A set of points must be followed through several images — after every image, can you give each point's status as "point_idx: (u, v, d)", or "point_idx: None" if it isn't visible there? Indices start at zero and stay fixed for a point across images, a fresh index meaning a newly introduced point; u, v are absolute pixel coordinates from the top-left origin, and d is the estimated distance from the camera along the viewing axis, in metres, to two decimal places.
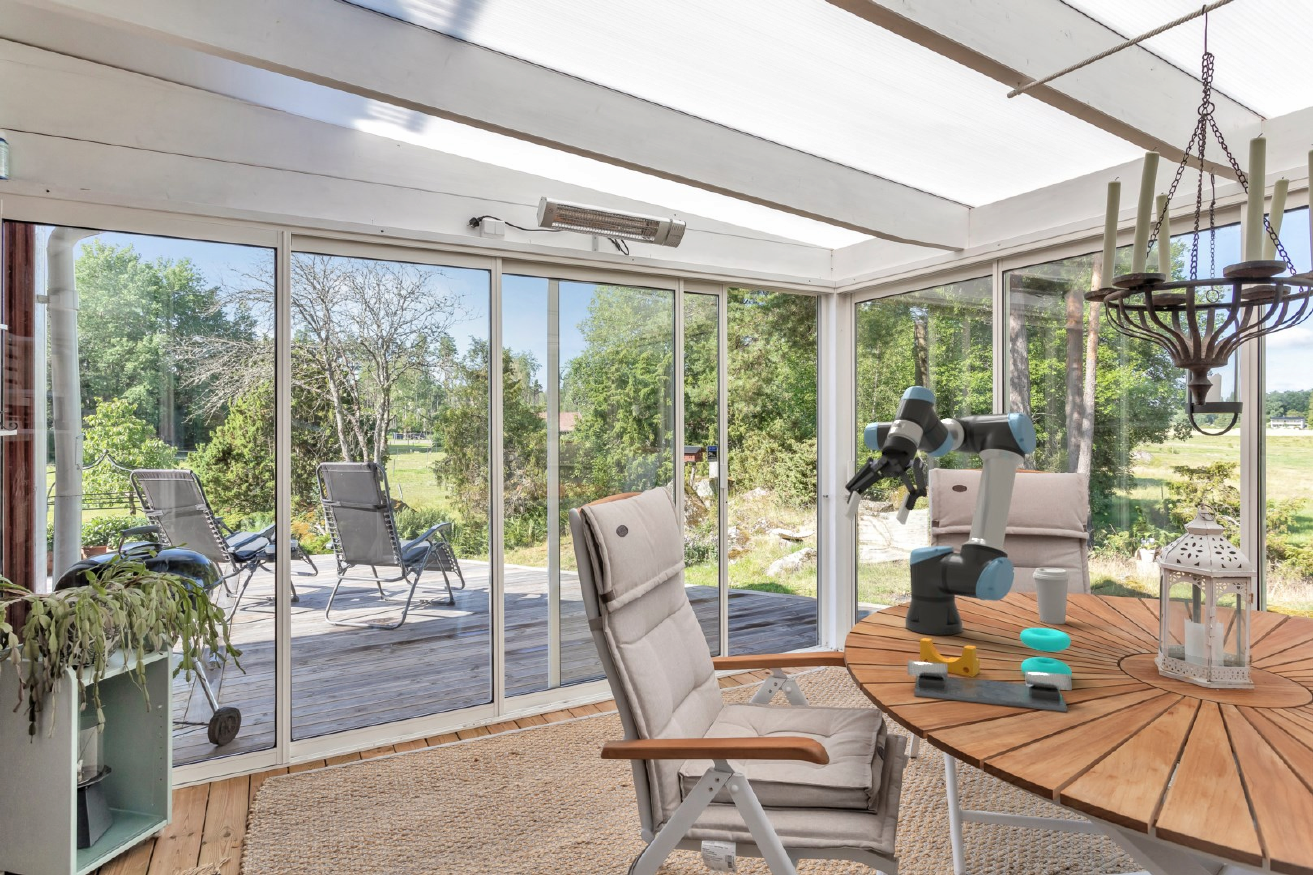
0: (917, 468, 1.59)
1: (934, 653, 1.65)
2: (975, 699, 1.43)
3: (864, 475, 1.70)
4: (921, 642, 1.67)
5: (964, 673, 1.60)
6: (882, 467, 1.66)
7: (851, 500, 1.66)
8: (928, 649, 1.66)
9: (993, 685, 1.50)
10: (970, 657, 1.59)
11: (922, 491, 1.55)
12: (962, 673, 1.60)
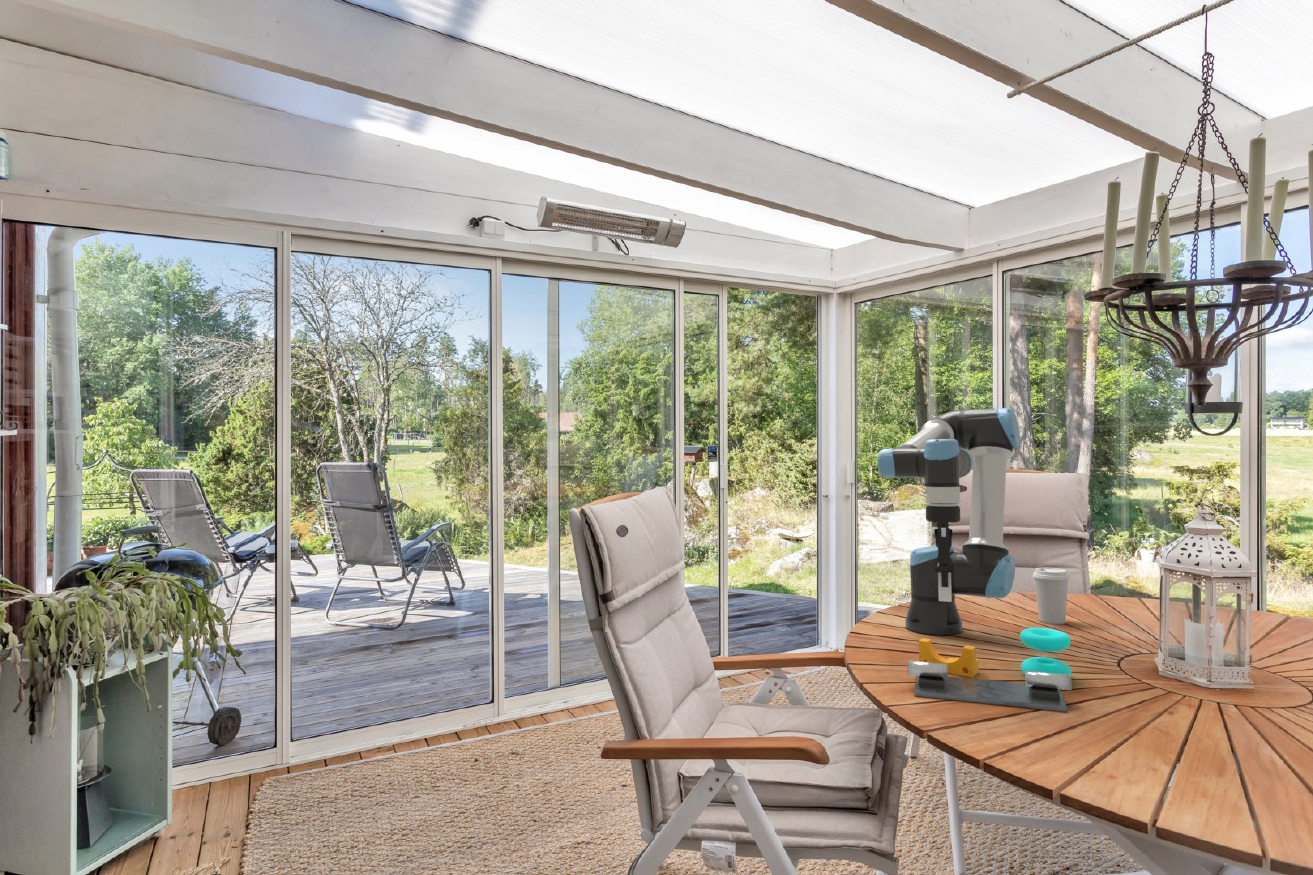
0: (938, 542, 1.59)
1: (933, 654, 1.65)
2: (975, 699, 1.43)
3: None
4: (920, 643, 1.66)
5: (963, 674, 1.60)
6: None
7: None
8: (927, 650, 1.65)
9: (993, 685, 1.50)
10: (970, 658, 1.59)
11: (941, 569, 1.56)
12: (961, 674, 1.60)
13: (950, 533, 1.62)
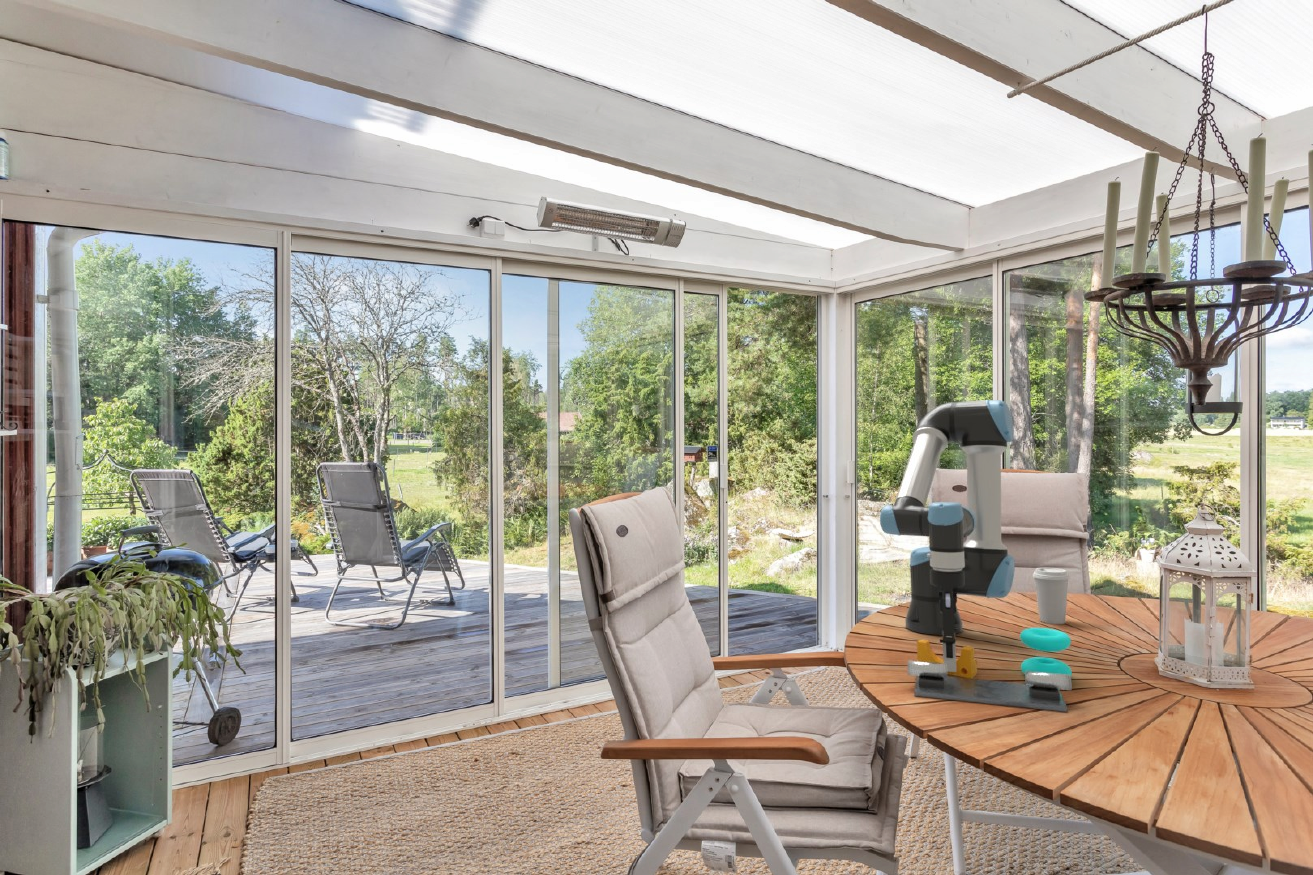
0: (942, 612, 1.59)
1: (931, 655, 1.64)
2: (975, 699, 1.43)
3: None
4: (918, 644, 1.65)
5: (962, 674, 1.59)
6: None
7: None
8: (925, 651, 1.64)
9: (993, 685, 1.50)
10: (969, 659, 1.58)
11: (946, 641, 1.57)
12: (960, 674, 1.59)
13: (955, 599, 1.62)
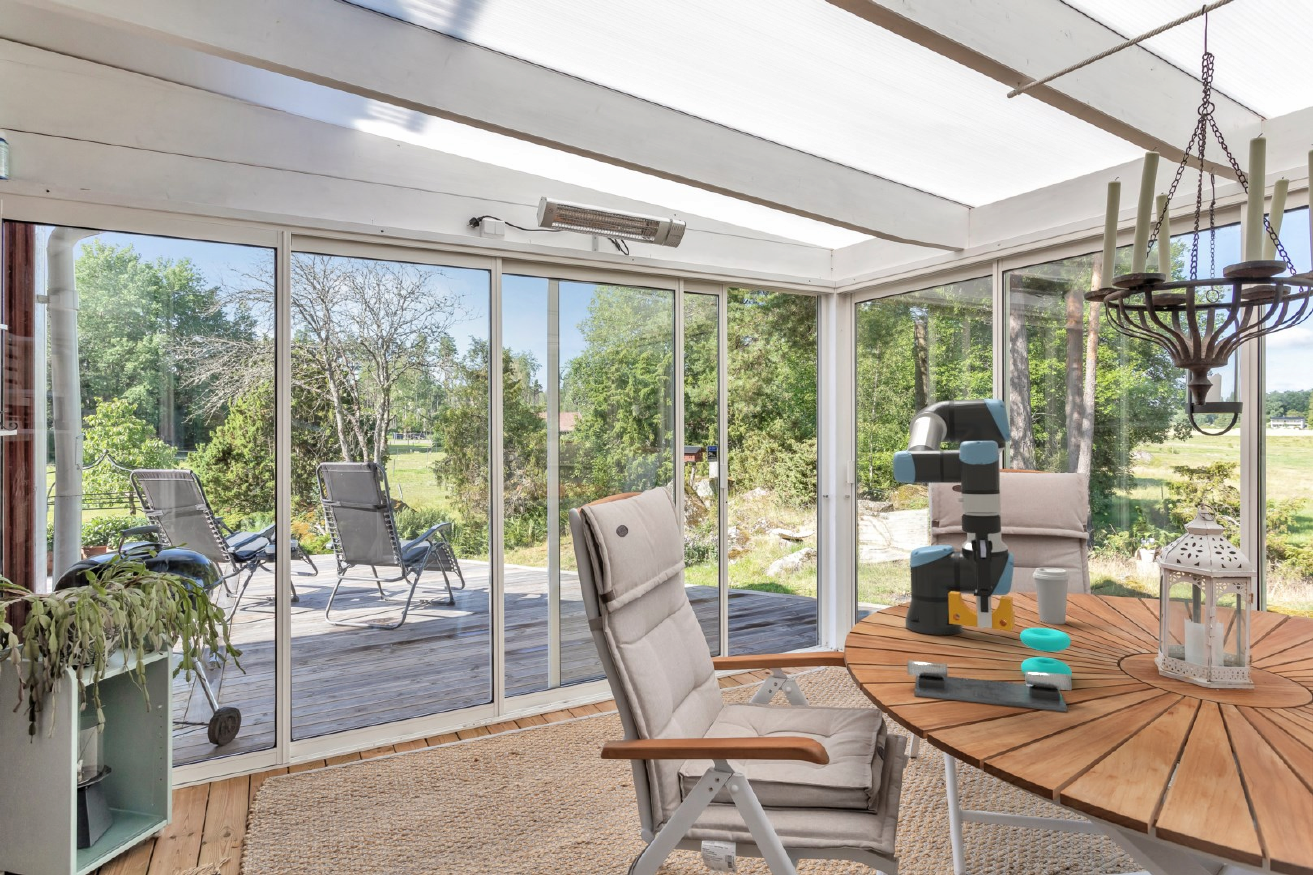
0: (977, 563, 1.43)
1: (964, 607, 1.49)
2: (975, 699, 1.43)
3: None
4: (950, 595, 1.50)
5: (1000, 627, 1.44)
6: None
7: (976, 602, 1.51)
8: (958, 603, 1.49)
9: (993, 685, 1.50)
10: (1008, 609, 1.44)
11: (981, 593, 1.43)
12: (998, 627, 1.45)
13: (990, 547, 1.46)
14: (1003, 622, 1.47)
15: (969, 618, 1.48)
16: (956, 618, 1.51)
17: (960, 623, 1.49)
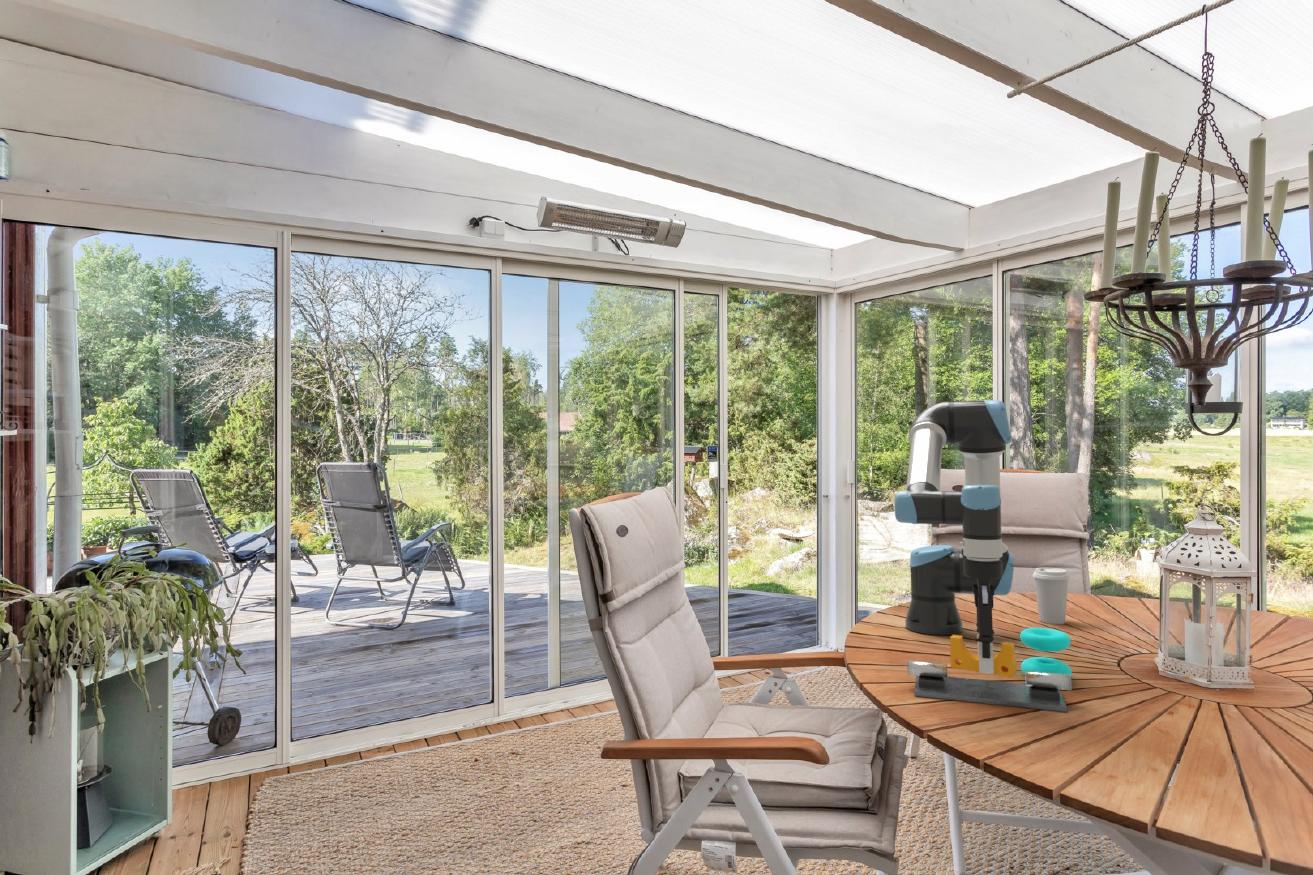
0: (978, 609, 1.43)
1: (966, 651, 1.49)
2: (975, 699, 1.43)
3: None
4: (951, 640, 1.50)
5: (1002, 673, 1.44)
6: None
7: (977, 646, 1.51)
8: (960, 647, 1.49)
9: (993, 685, 1.50)
10: (1010, 655, 1.43)
11: (983, 640, 1.43)
12: (1000, 673, 1.44)
13: (991, 592, 1.46)
14: (1005, 667, 1.47)
15: (971, 663, 1.48)
16: (958, 662, 1.50)
17: (962, 668, 1.49)
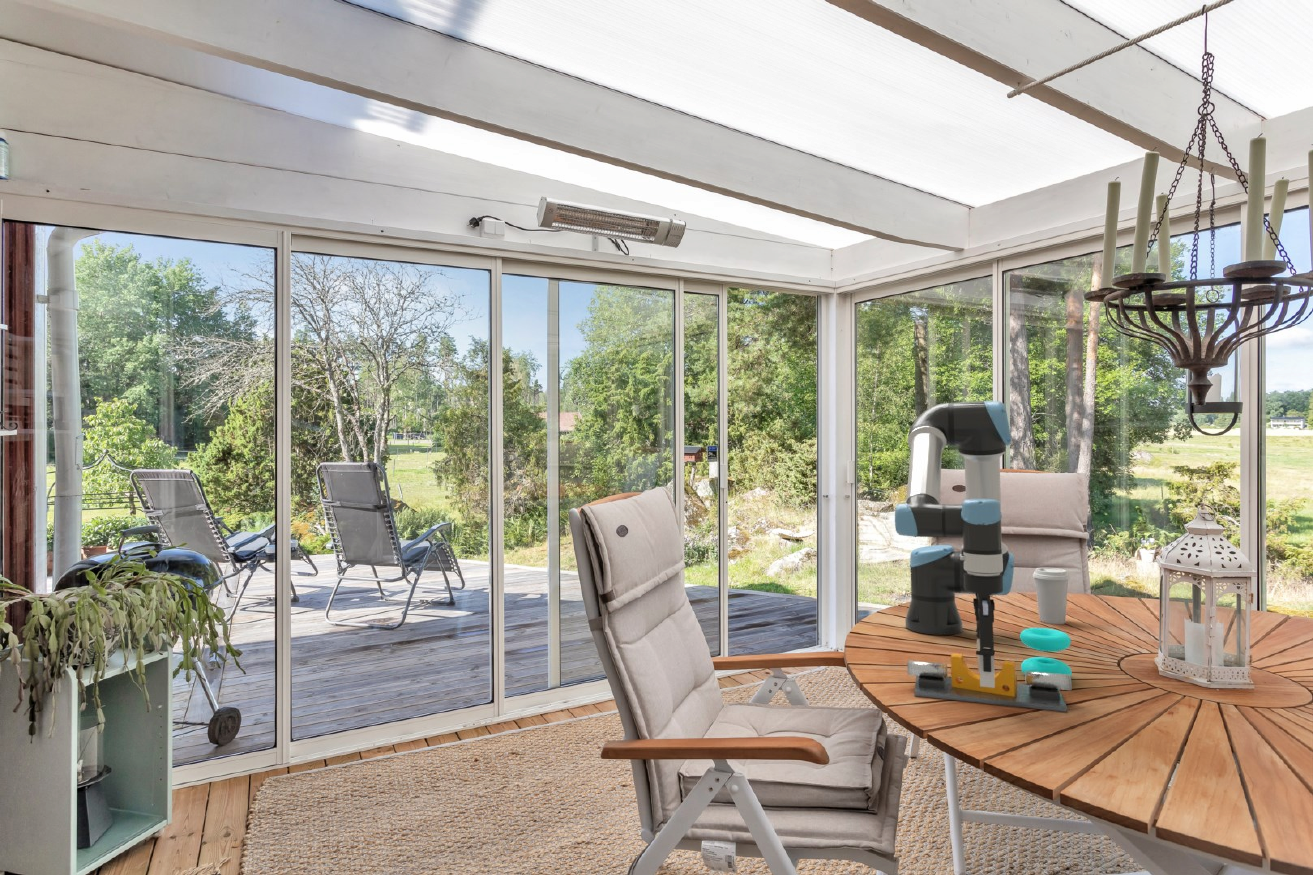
0: (979, 620, 1.42)
1: (967, 670, 1.49)
2: (975, 699, 1.43)
3: None
4: (952, 658, 1.50)
5: (1003, 692, 1.44)
6: None
7: None
8: (961, 666, 1.49)
9: None
10: (1011, 674, 1.43)
11: (984, 653, 1.40)
12: (1001, 692, 1.44)
13: (992, 606, 1.46)
14: (1005, 686, 1.47)
15: (972, 682, 1.48)
16: (958, 681, 1.50)
17: (963, 686, 1.49)
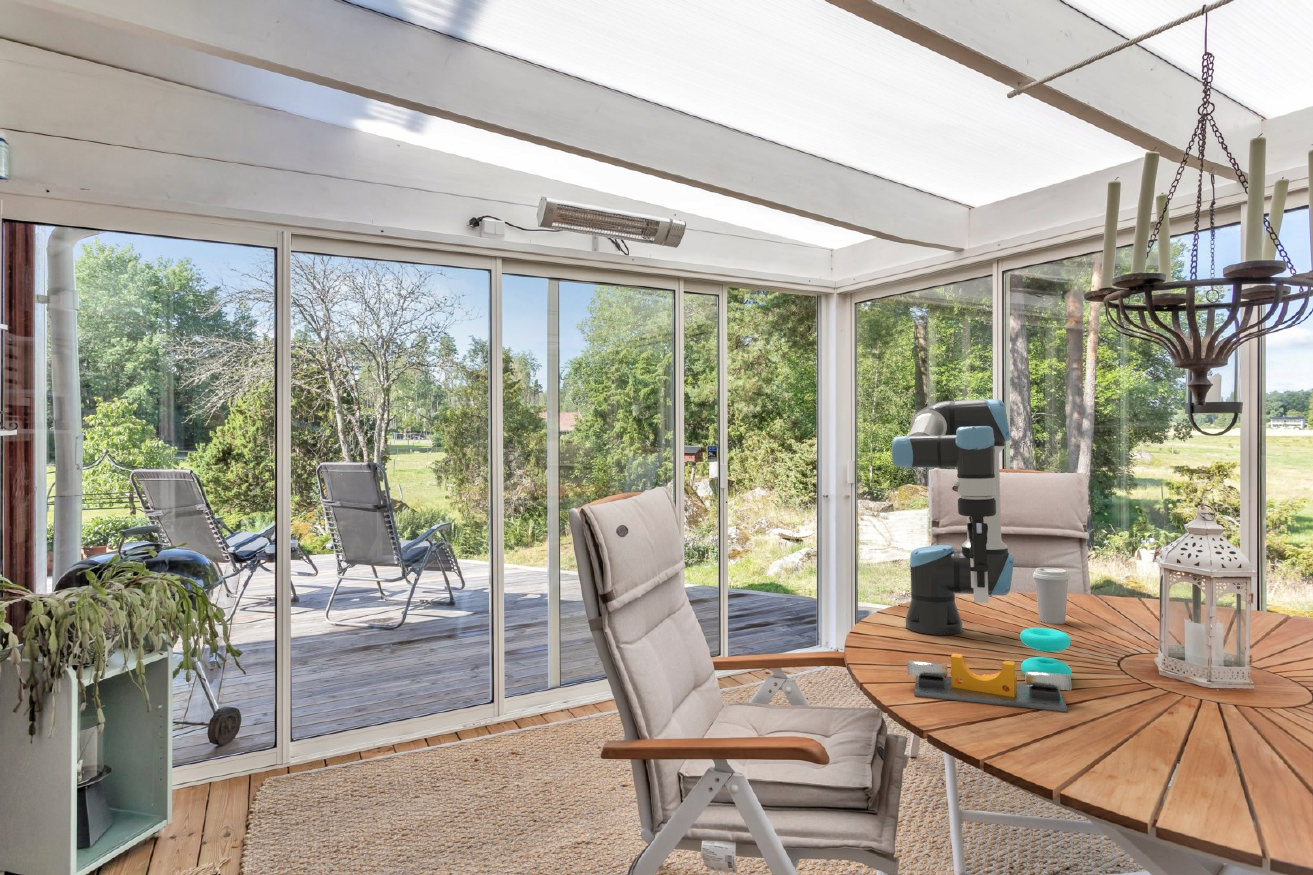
0: (973, 538, 1.46)
1: (967, 670, 1.49)
2: (975, 699, 1.43)
3: None
4: (952, 659, 1.50)
5: (1003, 692, 1.44)
6: None
7: None
8: (960, 666, 1.49)
9: None
10: (1011, 675, 1.43)
11: (977, 568, 1.43)
12: (1001, 692, 1.44)
13: (985, 528, 1.50)
14: (1005, 686, 1.46)
15: (972, 683, 1.47)
16: (958, 681, 1.50)
17: (963, 687, 1.48)
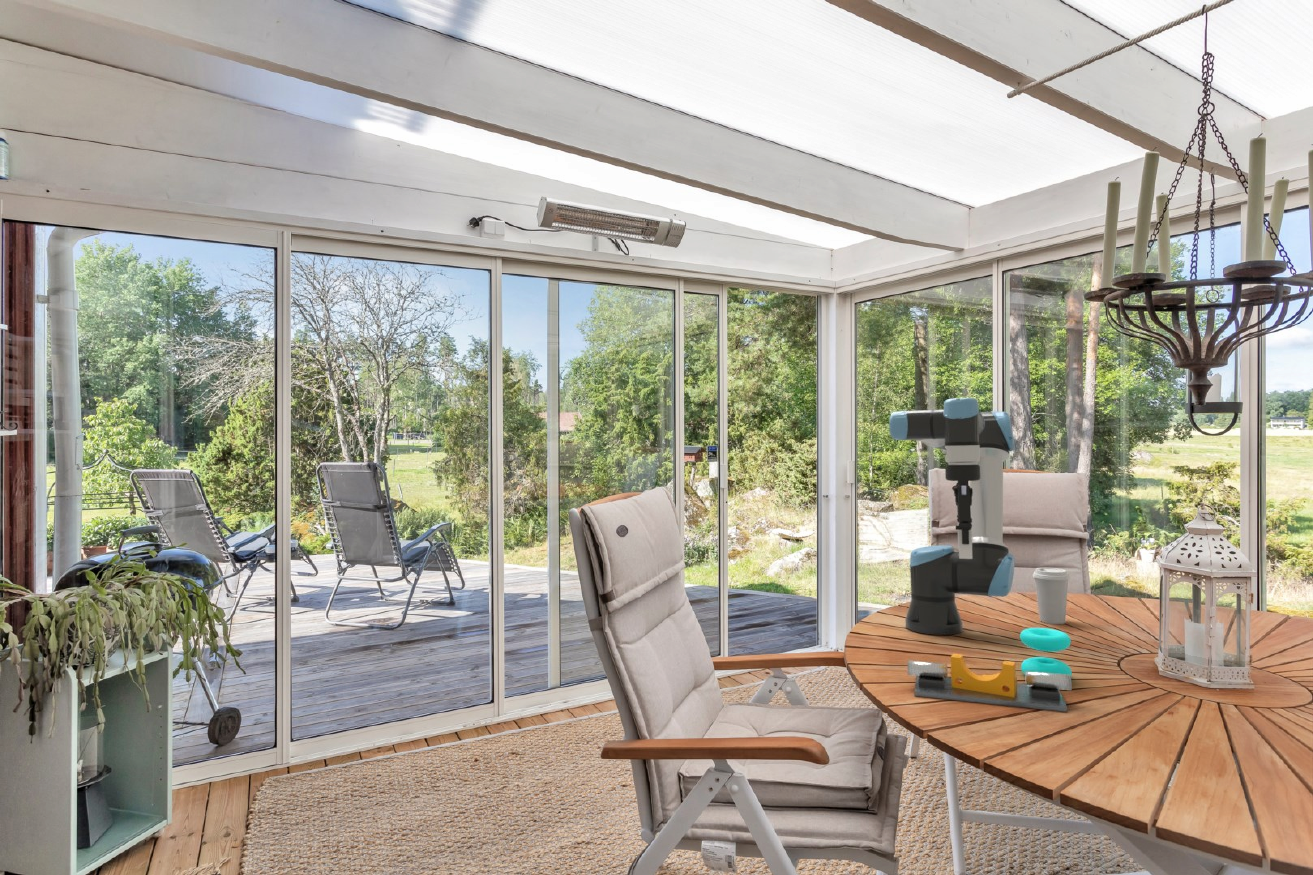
0: (958, 500, 1.59)
1: (967, 671, 1.49)
2: (975, 699, 1.43)
3: None
4: (952, 659, 1.49)
5: (1003, 692, 1.44)
6: None
7: None
8: (960, 667, 1.49)
9: None
10: (1011, 675, 1.43)
11: (962, 526, 1.56)
12: (1001, 693, 1.44)
13: (970, 491, 1.63)
14: (1005, 687, 1.46)
15: (972, 683, 1.47)
16: (958, 681, 1.50)
17: (962, 687, 1.48)
